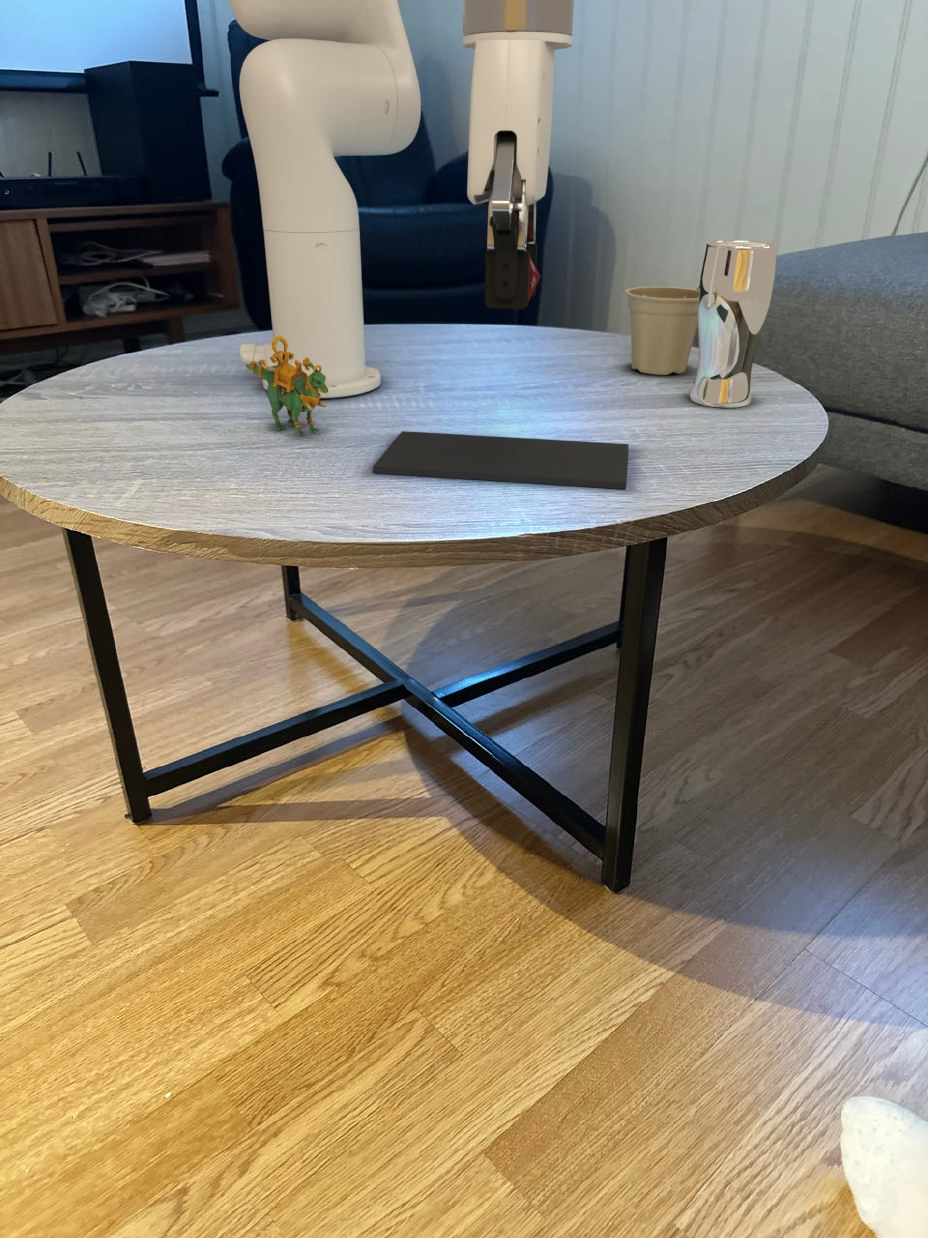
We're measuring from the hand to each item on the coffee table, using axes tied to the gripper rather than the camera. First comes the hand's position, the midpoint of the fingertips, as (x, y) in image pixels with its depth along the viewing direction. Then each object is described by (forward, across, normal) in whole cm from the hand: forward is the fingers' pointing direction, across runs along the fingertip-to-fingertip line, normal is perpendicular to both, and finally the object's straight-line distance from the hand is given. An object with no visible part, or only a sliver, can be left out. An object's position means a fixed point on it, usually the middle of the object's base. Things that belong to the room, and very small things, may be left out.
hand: (510, 299), depth 70 cm
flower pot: (+13, -36, +13) cm, 40 cm away
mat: (+13, +1, 0) cm, 13 cm away
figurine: (+13, -5, -21) cm, 25 cm away
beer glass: (+13, -23, +19) cm, 33 cm away
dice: (+1, 0, 0) cm, 1 cm away
